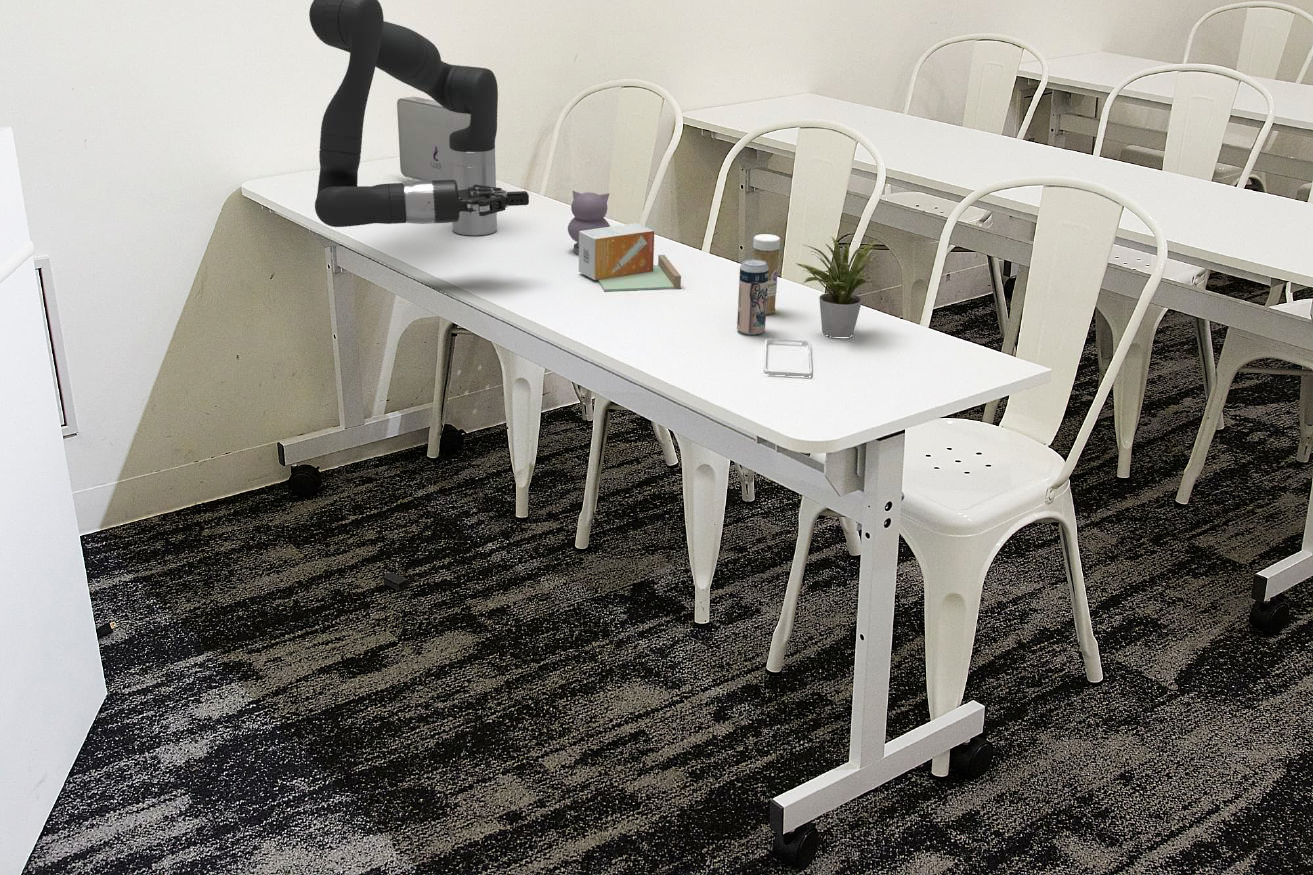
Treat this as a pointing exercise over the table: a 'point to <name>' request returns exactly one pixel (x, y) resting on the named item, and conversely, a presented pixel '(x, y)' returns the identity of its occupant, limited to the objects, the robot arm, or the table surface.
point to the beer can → (752, 296)
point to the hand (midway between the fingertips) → (528, 198)
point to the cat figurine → (587, 214)
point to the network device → (426, 137)
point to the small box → (616, 251)
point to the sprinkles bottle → (768, 264)
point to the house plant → (840, 290)
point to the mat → (646, 279)
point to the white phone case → (787, 373)
